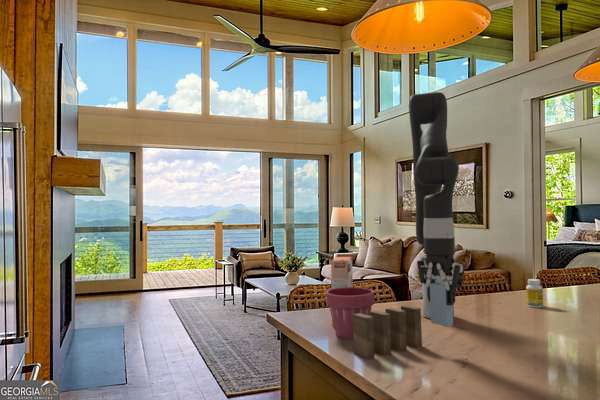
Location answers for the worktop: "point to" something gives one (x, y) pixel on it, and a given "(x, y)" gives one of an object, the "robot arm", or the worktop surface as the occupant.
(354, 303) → the plant pot
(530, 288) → the supplement bottle
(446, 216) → the robot arm
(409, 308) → the domino
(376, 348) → the domino
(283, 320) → the worktop surface
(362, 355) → the domino
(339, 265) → the cracker box
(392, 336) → the domino
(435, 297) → the domino
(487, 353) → the worktop surface
